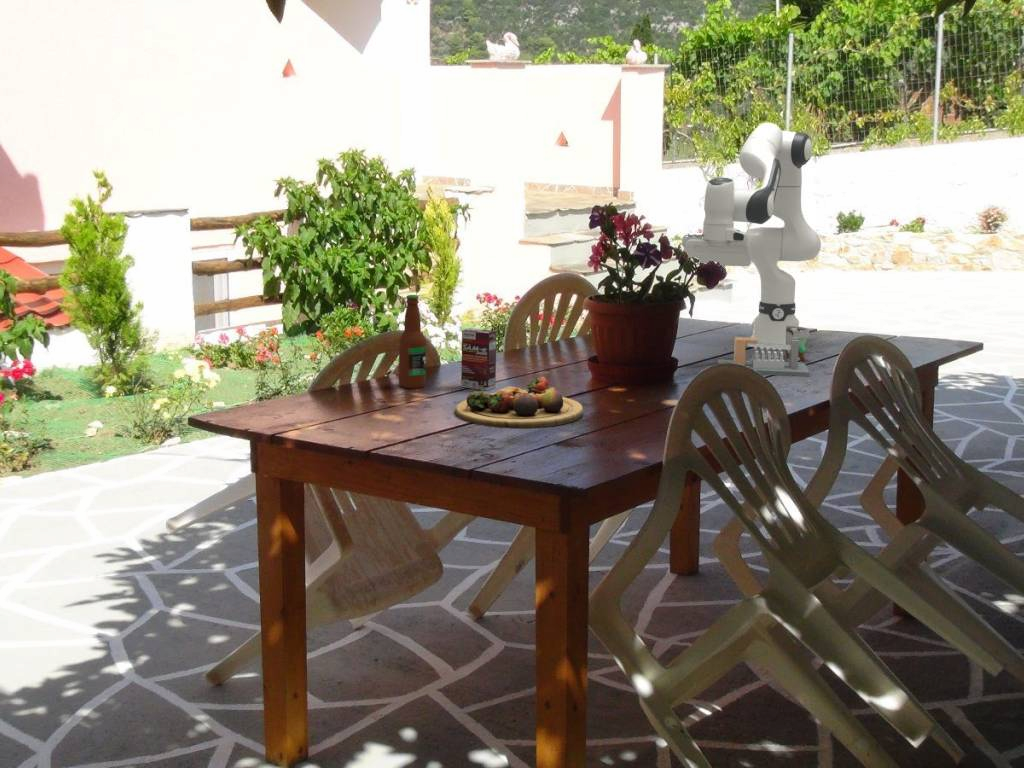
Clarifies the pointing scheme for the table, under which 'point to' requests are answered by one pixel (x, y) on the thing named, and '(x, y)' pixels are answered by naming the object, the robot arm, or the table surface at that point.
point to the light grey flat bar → (770, 345)
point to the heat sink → (776, 362)
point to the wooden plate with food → (520, 407)
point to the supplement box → (478, 359)
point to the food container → (802, 337)
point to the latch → (741, 348)
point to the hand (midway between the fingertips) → (715, 280)
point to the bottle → (412, 348)
